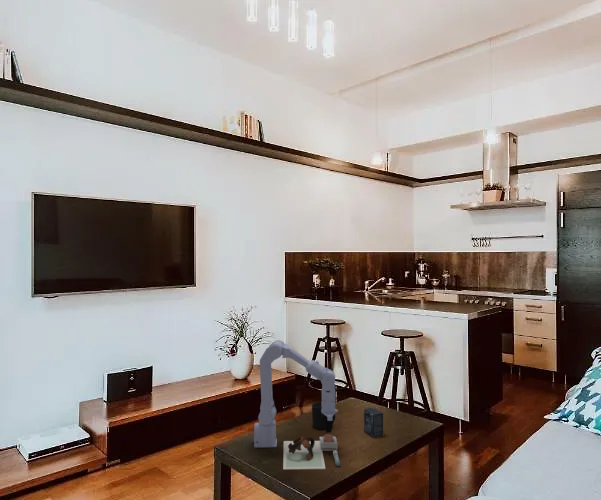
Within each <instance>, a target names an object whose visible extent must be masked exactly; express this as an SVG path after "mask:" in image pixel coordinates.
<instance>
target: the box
mask: <svg viewBox="0 0 601 500" xmlns="http://www.w3.org/2000/svg"><path fill="white" fill-rule="evenodd" d="M363 432H365V433H366V434H368V435H369V436H371V437H372V438H378V437H379V438H380V437H383V436H384V412H383V411H380V410H379V409H377V408H375V407H367V408H364V409H363Z"/></svg>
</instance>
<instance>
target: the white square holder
mask: <svg viewBox="0 0 601 500" xmlns="http://www.w3.org/2000/svg"><path fill="white" fill-rule="evenodd" d="M319 441H320V447H321V450H322V452H323V451H326V452H329V451H330V452H331V451H332V452H333V451H334V450H336V451H338V441H337V437H336V436H333V442H324V436H319Z"/></svg>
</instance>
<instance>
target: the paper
mask: <svg viewBox="0 0 601 500" xmlns="http://www.w3.org/2000/svg"><path fill="white" fill-rule="evenodd" d="M293 441H294V440H284V441H283V456H282V457H283V463H282V467H283V468H282V469H283V470H284V471H285V470H287V471H288V470H289V471H290V470H293V471H295V470H299V471H301V470H326V465H325V459H324V453H323V451H322V450H321V447H320V440H314V441H315V444H314V447H313V448H312V451H313V455H314V456H313V457H312V458H311V459H310V460H309V461H308V460H307V457H306V455H307V454H308V453H309V451H308V450H307V448H305V447H304V446H303V445H302V444H301V450H296V451H295V452H294V454H293V453H292V452H291V453H289V448H288V445H289V444H290V443H292V445H293V444H294V443H293ZM309 443H310V444H311V441H310V442H309Z"/></svg>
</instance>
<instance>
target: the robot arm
mask: <svg viewBox="0 0 601 500" xmlns="http://www.w3.org/2000/svg"><path fill="white" fill-rule="evenodd" d="M281 356H282V357H281ZM280 358H282V359H291V360H292V361H294V362H296V363H298V364H299V365H301V366H302V367H304V368H305V371H306V373H308V374H309V375H310V376H312V377H314V378H315V379H317V380H318V381H320V383H321V384H322V385H321V387H322V388H321V402H322V410H321V412H322V413H323V414H322V418H323V420H324V424H325V429H324V430H325V434H326V433H327V434H328V433H329V434H331V433H332V430H333V425H334V422H335V421H336V413H339V410H338V409H336V384H335V382H336V374H335V372H334V371H332V369H329V368H328V367H325V366H323V365H321V364H320V362H319V360H313V359H311V360H309V359H307V358H306V357H305V356H303V354H302V353H300V352H298V351H297V350H295V348H293V347H291V346H290V345H289V344H288V343H286V342H284V341H282V340H274V342H272V343H271V344H270V345H269V346H268V347H267V348H266V349H265V351H264V353H263V354H262V356H261V357H260V359H259V374H260V375H259V377H260V378H259V379H260V395H261V397H260V399H261V402H260V407H259V409H260V412H259V413H258V416H257V419H258V421H259V422H255V423H254V428H253V429H254V431H253V448H277V444H278V439H277V420H276V419H275V417H276V416H277V408H276V406H275V400H274V398H273V397H274V396H273V375H272V374H273V373H272V363H273V362H274V361H275V360H277V359H280Z"/></svg>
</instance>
